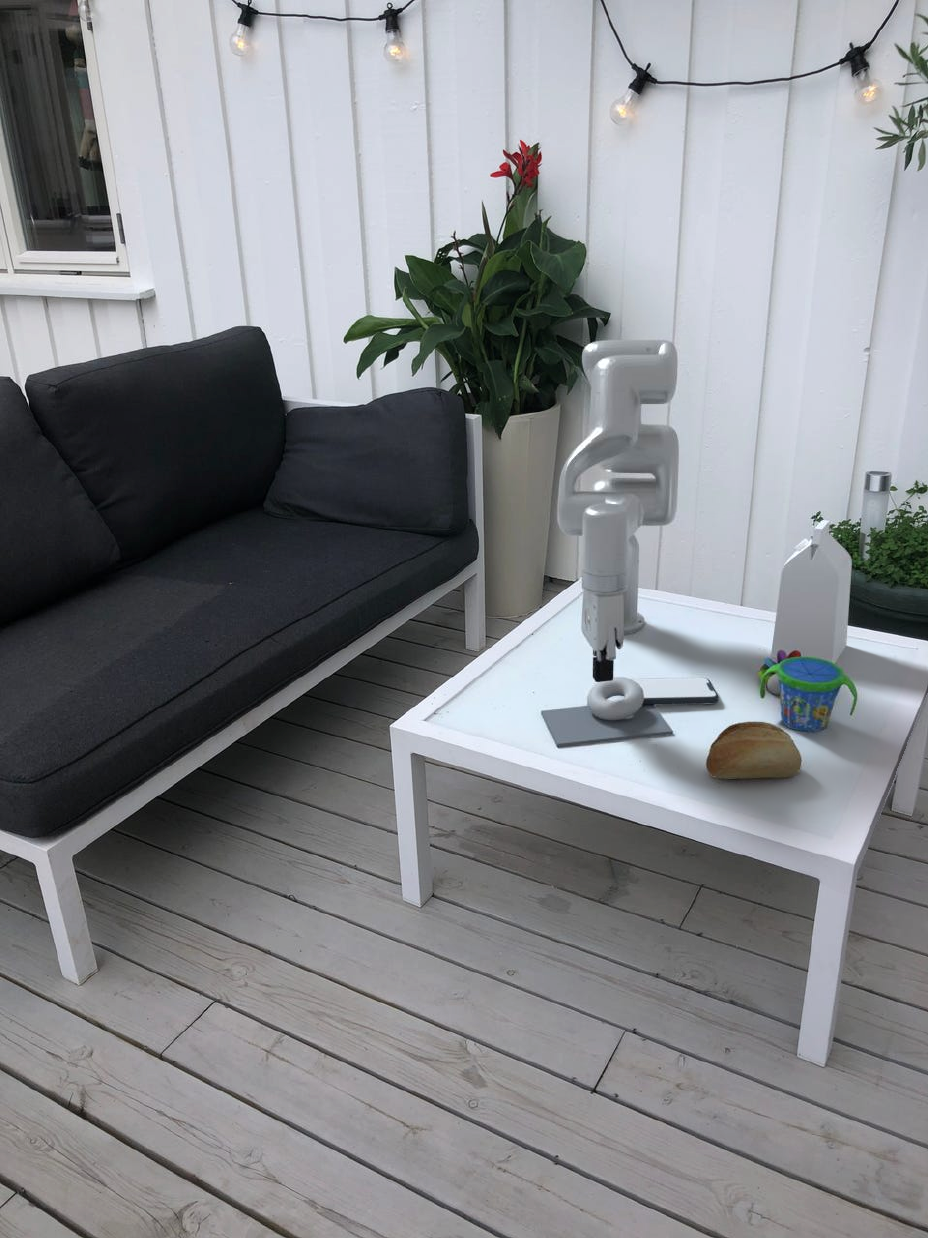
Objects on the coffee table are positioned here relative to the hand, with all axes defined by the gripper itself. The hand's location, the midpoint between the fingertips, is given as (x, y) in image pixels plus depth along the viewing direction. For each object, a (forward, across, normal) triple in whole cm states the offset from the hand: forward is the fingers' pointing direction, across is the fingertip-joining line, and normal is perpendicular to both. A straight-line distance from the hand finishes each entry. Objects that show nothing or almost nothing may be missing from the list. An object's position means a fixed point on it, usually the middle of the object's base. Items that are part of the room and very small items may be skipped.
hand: (602, 679), depth 173 cm
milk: (+8, -18, +47) cm, 51 cm away
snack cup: (+8, +9, +33) cm, 35 cm away
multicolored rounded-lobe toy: (+8, -5, +36) cm, 37 cm away
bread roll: (+8, +22, +18) cm, 30 cm away
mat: (+8, +2, 0) cm, 8 cm away
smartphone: (+7, -5, +14) cm, 17 cm away
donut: (+4, -5, 0) cm, 7 cm away
